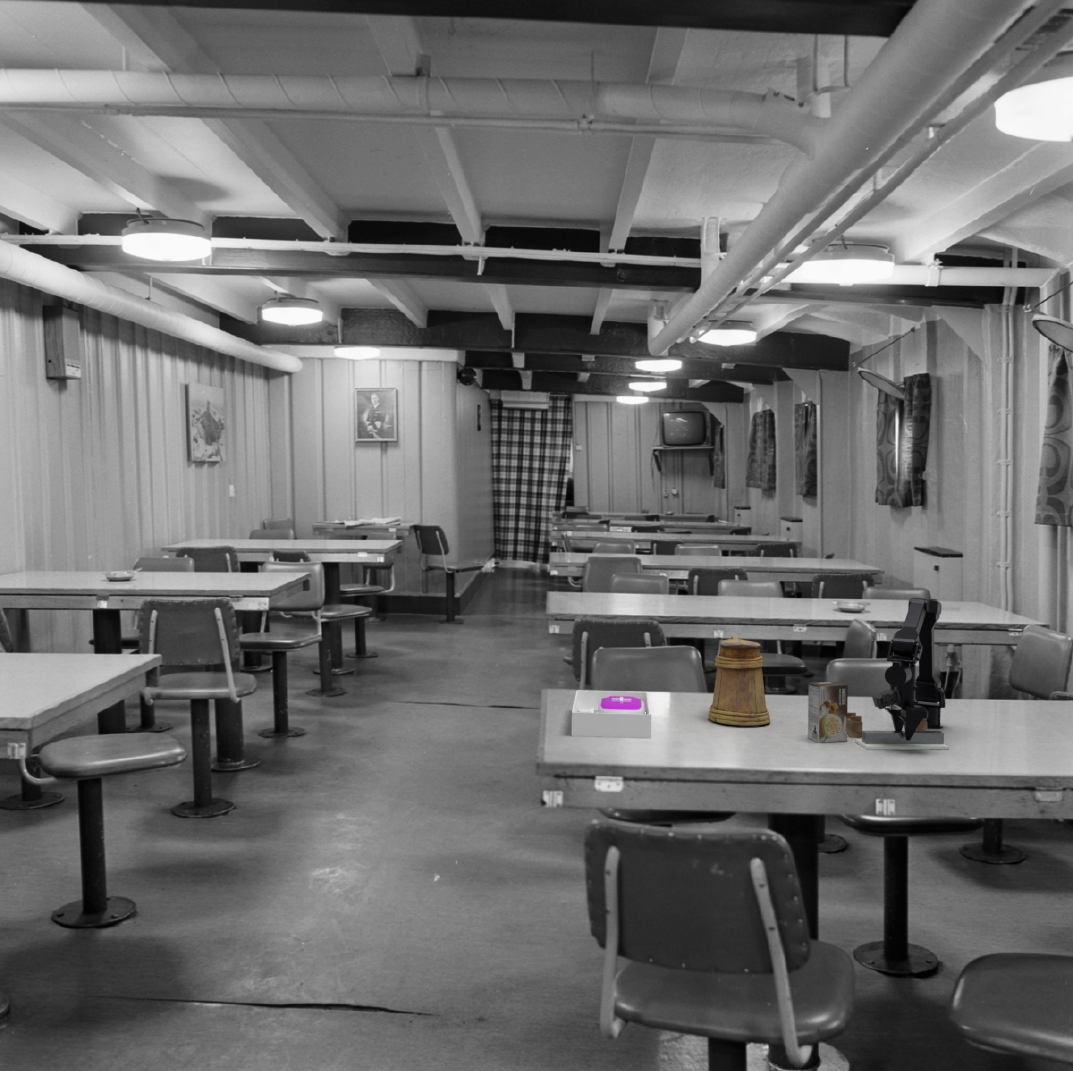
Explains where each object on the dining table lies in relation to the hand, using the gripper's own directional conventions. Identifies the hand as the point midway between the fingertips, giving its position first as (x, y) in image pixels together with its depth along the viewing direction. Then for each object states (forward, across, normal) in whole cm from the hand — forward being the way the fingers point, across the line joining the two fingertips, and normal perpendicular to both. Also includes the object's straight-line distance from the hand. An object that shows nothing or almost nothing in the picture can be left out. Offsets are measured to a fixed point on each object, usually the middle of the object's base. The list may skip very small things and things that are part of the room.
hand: (903, 737), depth 290 cm
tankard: (+2, -34, -38) cm, 51 cm away
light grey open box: (+3, -28, -78) cm, 83 cm away
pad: (+2, 0, 0) cm, 2 cm away
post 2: (+2, -13, +10) cm, 16 cm away
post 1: (+2, -13, -10) cm, 16 cm away
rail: (+1, 0, 0) cm, 1 cm away
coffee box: (+2, -7, -19) cm, 20 cm away
